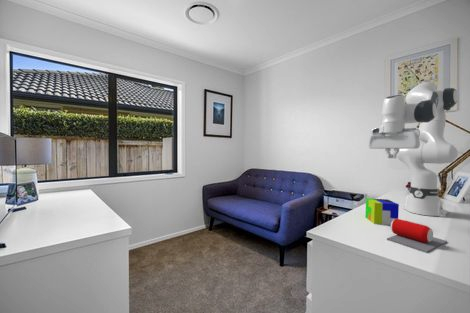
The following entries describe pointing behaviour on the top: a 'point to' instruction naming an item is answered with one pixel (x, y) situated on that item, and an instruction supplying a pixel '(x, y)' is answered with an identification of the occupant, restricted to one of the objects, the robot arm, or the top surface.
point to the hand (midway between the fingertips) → (391, 158)
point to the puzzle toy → (381, 211)
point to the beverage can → (412, 230)
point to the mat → (417, 243)
